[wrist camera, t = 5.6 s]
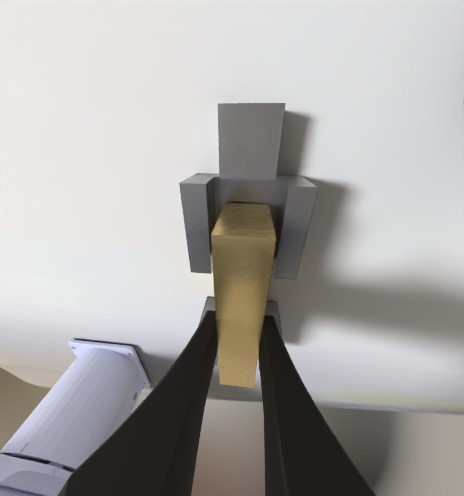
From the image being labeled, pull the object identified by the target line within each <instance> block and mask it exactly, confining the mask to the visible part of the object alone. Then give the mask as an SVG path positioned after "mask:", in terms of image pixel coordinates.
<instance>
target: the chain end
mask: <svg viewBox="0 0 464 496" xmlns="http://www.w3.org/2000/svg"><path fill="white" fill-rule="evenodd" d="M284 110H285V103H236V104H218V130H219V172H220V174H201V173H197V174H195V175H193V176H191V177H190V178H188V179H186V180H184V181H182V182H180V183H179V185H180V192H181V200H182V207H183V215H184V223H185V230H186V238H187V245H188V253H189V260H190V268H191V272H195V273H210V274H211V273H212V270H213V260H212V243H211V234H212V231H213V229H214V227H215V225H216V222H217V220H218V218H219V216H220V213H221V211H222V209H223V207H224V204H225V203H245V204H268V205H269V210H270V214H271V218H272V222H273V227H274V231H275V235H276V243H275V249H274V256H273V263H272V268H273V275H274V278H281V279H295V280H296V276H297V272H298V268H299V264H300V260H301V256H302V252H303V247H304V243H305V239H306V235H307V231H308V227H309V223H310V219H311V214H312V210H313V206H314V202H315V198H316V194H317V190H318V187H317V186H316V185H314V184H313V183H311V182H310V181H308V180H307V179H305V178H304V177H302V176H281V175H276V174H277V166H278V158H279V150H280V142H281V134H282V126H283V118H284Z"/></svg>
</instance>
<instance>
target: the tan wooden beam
mask: <svg viewBox="0 0 464 496" xmlns="http://www.w3.org/2000/svg"><path fill="white" fill-rule="evenodd" d="M211 243H212V260H213V277H214V294H215V311H216V322H217V339H218V363H219V380H220V384H223V385H231V386H239V387H248V388H253V387H254V380H255V374H256V367H257V361H258V354H259V345H260V339H261V332H262V325H263V321H264V315H265V308H266V302H267V295H268V289H269V282H270V276H271V269H272V263H273V256H274V249H275V243H276V235H275V231H274V227H273V222H272V218H271V214H270V210H269V205H268V204H245V203H225V204H224V207H223V209H222V211H221V213H220V216H219V218H218V220H217V222H216V225H215V227H214V229H213V231H212V234H211Z"/></svg>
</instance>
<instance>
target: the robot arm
mask: <svg viewBox="0 0 464 496" xmlns="http://www.w3.org/2000/svg"><path fill="white" fill-rule="evenodd" d="M68 346H69V347H70V348H71V349H72V351H73V352H74V353H75V355H76V356H77V358H76V360H75V361H74V362H73V363H72V364H71V366H70V367H69V368H68V369H67V371H66V372H65V373H64V374H63V375H62V377H61V378H60V379H59V380H58V382H57V383H56V384H55V385H54V386H53V388H52V389H51V390H50V391H49V393H48V394H47V395H46V396H45V398H44V399H43V400H42V401H41V402H40V404H39V405H38V406H37V408H35V410H34V411H33V412H32V413H31V415H30V416H29V417H28V418H27V419H26V421H25V422H24V423H23V424H22V426H21V427H20V428H19V429H18V430H17V432H16V433H15V434H14V435H13V437H12V438H11V439H10V440H9V441H8V443H7V444H6V445H5V446H4V448H3V449H2V450H1V451H0V496H191V491H192V484H193V477H194V471H195V464H196V457H197V451H198V445H199V438H200V431H201V424H202V419H203V413H204V407H205V402H206V397H207V393H208V389H209V385H210V380H211V376H212V372H213V368H214V363H215V359H216V355H217V349H218V339H217V322H216V311H212V310H208V311H206V313H205V316H204V318H203V319H202V321H201V323H200V325H199V327H198V328H197V330H196V332H195V333H194V335H193V336H192V338H191V340H190V341H189V343H188V344H187V346H186V347H185V349H184V350H183V352H182V353H181V354H180V356H179V357H178V359H177V360H176V361H175V363H174V364H173V366H172V367H171V368H170V369H169V371H168V372H167V373H166V375H165V376H164V377H163V378H162V380H161V381H160V382H159V383H158V385H157V386H156V387H155V388H154V389H153V390H152V392H151V393H150V394H149V395H148V396H147V397H146V399H145V400H144V401H143V402H142V403H141V404H140V405H139V406H138V408H137V409H136V410H135V411H134V412H133V413H132V411H133V408H134V406H135V404H136V402H137V400H138V397H139V395H140V393H141V391H142V388H146V389H148V388H150V386H151V384H150V382H149V380H148V378H147V375H146V373H145V371H144V369H143V367H142V364H141V362H140V360H139V358H138V356H137V353H136V351H135V349H134V348H133V347H132V346H126V345H117V344H108V343H98V342H89V341H80V340H70V341H69V342H68ZM259 366H260V376H261V387H262V398H263V408H264V409H263V410H264V439H265V440H264V441H265V496H376V495H375V493H374V492H373V490H372V489H371V488H370V486H369V485H368V484H367V482H366V481H365V479H364V478H363V477H362V475H361V474H360V472H359V471H358V469H357V468H356V466H355V465H354V464H353V462H352V461H351V460H350V458H349V456H348V455H347V453H346V452H345V450H344V449H343V448H342V446H341V444H340V443H339V441H338V440H337V438H336V437H335V435H334V434H333V432H332V430H331V429H330V427H329V426H328V425H327V423H326V421H325V420H324V418H323V416H322V415H321V413H320V411H319V410H318V408H317V406H316V405H315V403H314V401H313V400H312V398H311V396H310V394H309V393H308V391H307V389H306V387H305V386H304V384H303V382H302V380H301V378H300V376H299V374H298V372H297V370H296V368H295V366H294V364H293V362H292V360H291V358H290V356H289V354H288V351H287V349H286V347H285V345H284V342H283V340H282V338H281V335H280V333H279V330H278V327H277V324H276V321H275V318H274V316H270V315H264V321H263V325H262V332H261V339H260V345H259ZM131 413H132V414H131Z"/></svg>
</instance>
